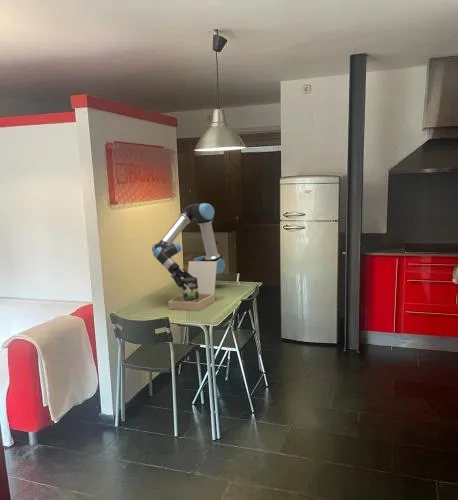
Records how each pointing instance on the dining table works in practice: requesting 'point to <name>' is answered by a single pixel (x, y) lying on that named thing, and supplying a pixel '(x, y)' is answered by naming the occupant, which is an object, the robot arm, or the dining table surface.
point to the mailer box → (205, 280)
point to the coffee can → (193, 286)
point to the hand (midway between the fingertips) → (194, 290)
